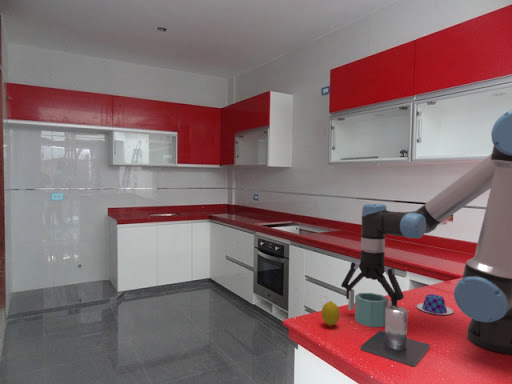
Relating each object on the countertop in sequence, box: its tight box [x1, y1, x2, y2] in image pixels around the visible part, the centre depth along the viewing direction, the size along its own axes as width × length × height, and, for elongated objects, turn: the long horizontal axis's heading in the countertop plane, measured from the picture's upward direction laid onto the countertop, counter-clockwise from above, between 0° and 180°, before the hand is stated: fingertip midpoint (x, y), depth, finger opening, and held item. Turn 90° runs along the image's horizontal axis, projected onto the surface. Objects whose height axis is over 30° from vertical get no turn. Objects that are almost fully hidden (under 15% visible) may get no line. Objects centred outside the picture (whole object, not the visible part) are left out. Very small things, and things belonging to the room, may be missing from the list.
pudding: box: [416, 293, 454, 316], centre depth 131 cm, size 12×12×5 cm
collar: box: [354, 292, 389, 328], centre depth 118 cm, size 10×10×8 cm
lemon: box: [321, 300, 340, 327], centre depth 114 cm, size 6×6×8 cm
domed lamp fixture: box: [360, 305, 431, 368], centre depth 99 cm, size 14×14×11 cm
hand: (370, 314), depth 119 cm, fingers open, 13 cm apart
